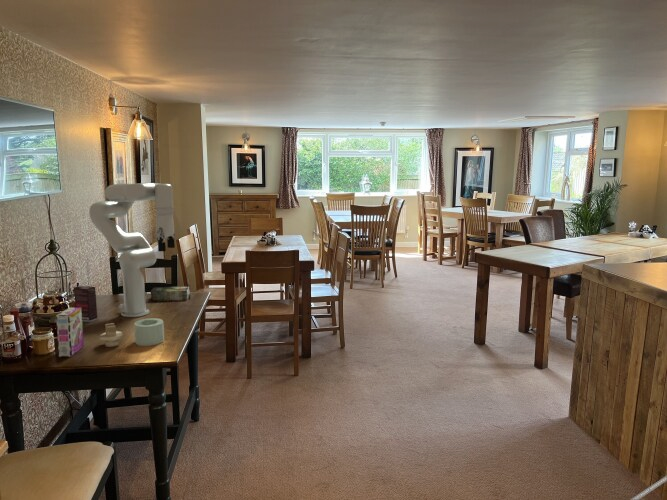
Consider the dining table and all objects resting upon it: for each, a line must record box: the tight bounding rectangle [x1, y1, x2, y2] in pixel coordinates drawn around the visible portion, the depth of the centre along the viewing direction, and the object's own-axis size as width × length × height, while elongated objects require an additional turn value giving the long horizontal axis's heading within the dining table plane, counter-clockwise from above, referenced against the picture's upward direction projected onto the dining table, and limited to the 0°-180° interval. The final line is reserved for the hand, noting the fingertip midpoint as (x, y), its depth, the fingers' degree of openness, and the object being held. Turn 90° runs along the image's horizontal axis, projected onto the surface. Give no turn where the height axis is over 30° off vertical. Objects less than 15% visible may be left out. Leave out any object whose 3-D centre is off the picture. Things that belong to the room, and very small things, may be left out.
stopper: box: [99, 322, 124, 348], centre depth 194 cm, size 8×8×8 cm
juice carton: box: [150, 286, 191, 302], centre depth 264 cm, size 20×10×6 cm, turn 102°
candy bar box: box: [55, 307, 85, 358], centre depth 185 cm, size 11×5×16 cm, turn 5°
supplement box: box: [73, 285, 98, 323], centre depth 224 cm, size 9×5×16 cm, turn 71°
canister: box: [133, 317, 165, 347], centre depth 198 cm, size 11×11×8 cm
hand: (166, 249), depth 218 cm, fingers open, 9 cm apart
